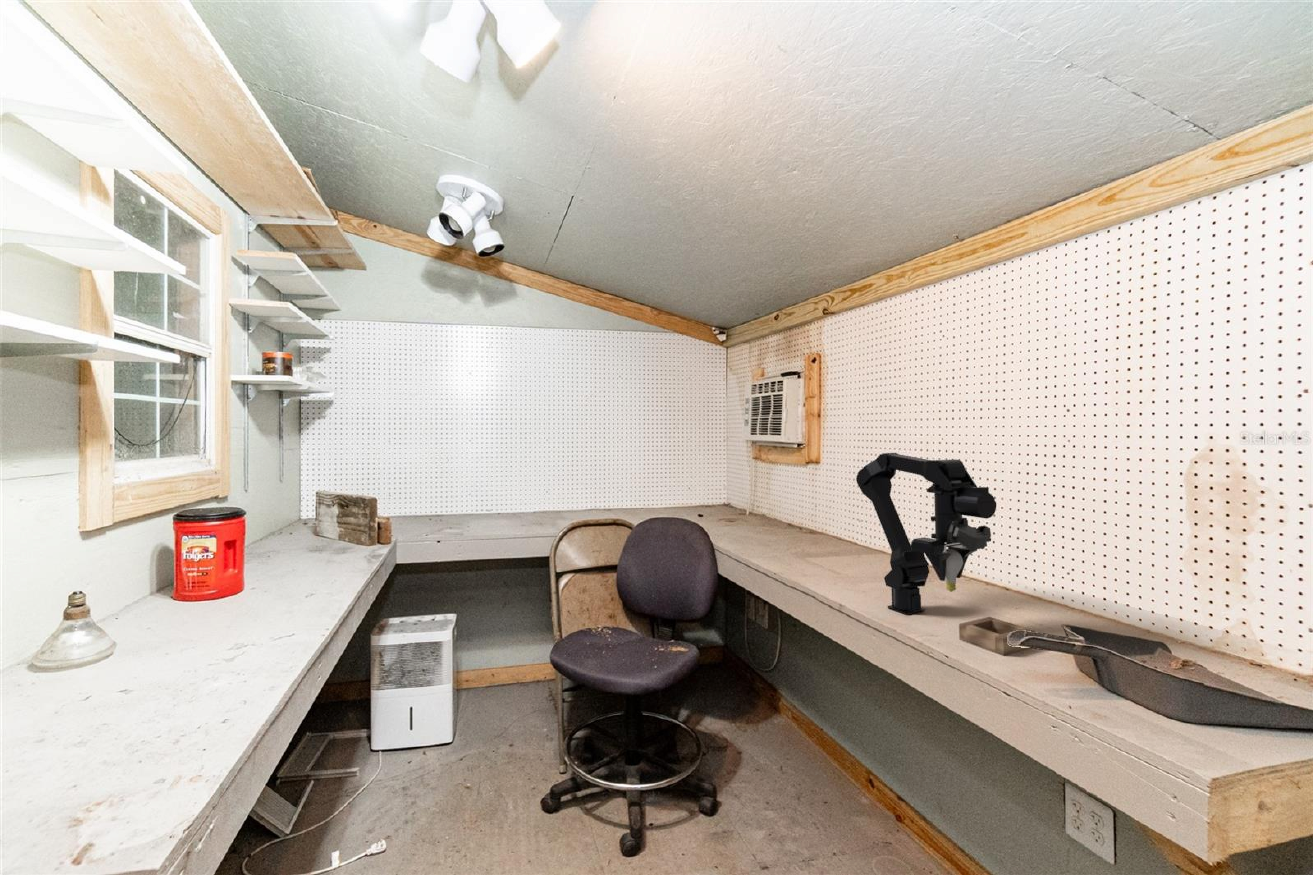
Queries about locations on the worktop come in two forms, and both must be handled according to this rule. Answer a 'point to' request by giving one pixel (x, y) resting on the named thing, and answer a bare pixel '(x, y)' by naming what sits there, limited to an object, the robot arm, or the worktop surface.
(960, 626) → the socket block
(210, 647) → the worktop surface
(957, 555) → the light bulb
